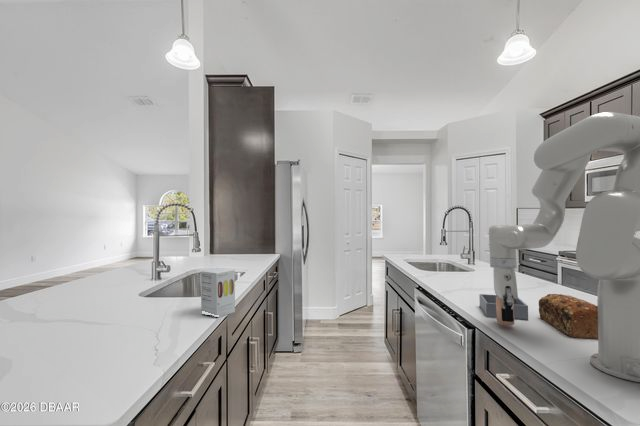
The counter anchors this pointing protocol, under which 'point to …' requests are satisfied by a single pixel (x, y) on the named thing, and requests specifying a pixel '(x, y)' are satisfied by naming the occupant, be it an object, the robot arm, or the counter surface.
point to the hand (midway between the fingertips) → (505, 317)
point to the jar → (499, 313)
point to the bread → (570, 315)
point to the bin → (490, 307)
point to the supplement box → (218, 291)
